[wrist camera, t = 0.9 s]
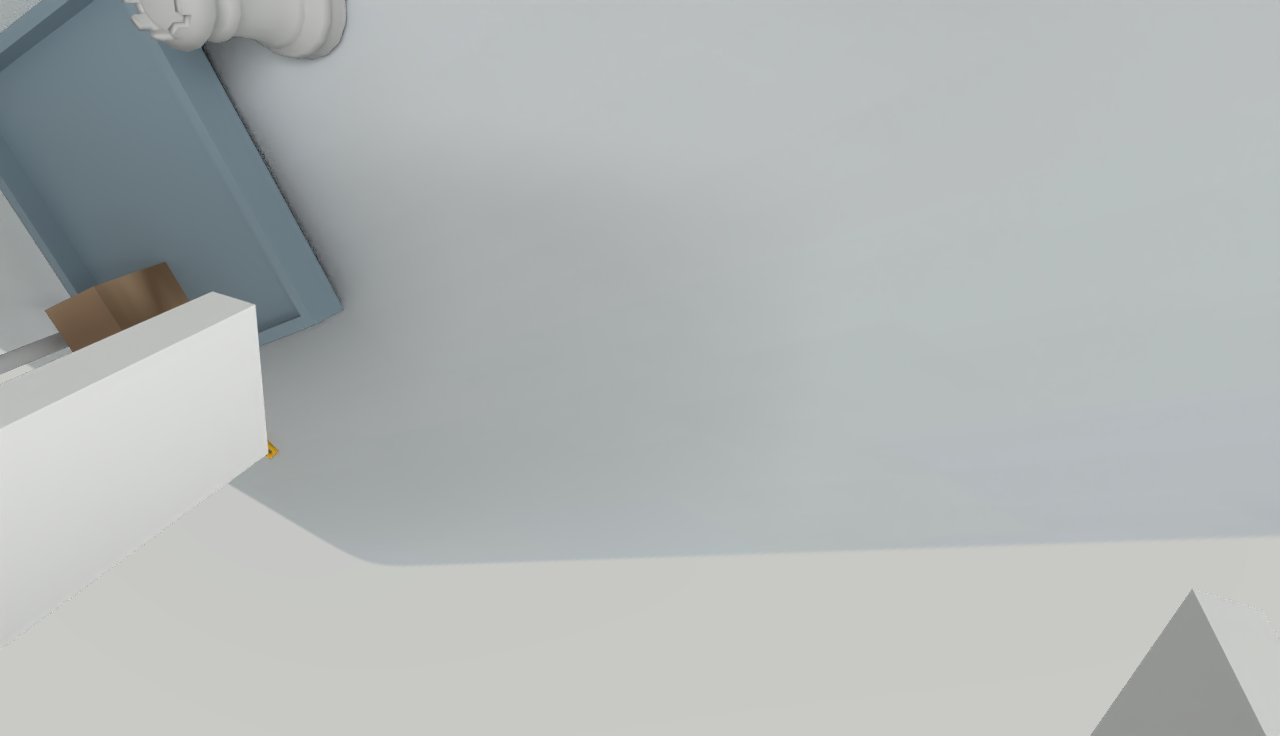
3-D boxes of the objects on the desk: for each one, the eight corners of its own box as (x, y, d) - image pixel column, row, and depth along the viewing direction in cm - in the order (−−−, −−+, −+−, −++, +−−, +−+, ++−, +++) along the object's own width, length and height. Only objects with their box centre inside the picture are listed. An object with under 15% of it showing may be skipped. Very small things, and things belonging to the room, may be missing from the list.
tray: (168, -46, 34) (-100, -66, 25) (356, 302, 39) (190, 392, 30) (-3, 82, 40) (-272, 104, 30) (179, 371, 44) (-5, 464, 35)
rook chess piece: (316, -78, 31) (152, -103, 24) (371, 30, 32) (230, 36, 26) (245, -25, 33) (74, -34, 26) (300, 75, 34) (149, 93, 27)
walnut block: (117, 284, 40) (44, 310, 37) (165, 261, 39) (93, 286, 35) (160, 351, 41) (93, 383, 38) (208, 332, 40) (142, 362, 36)
